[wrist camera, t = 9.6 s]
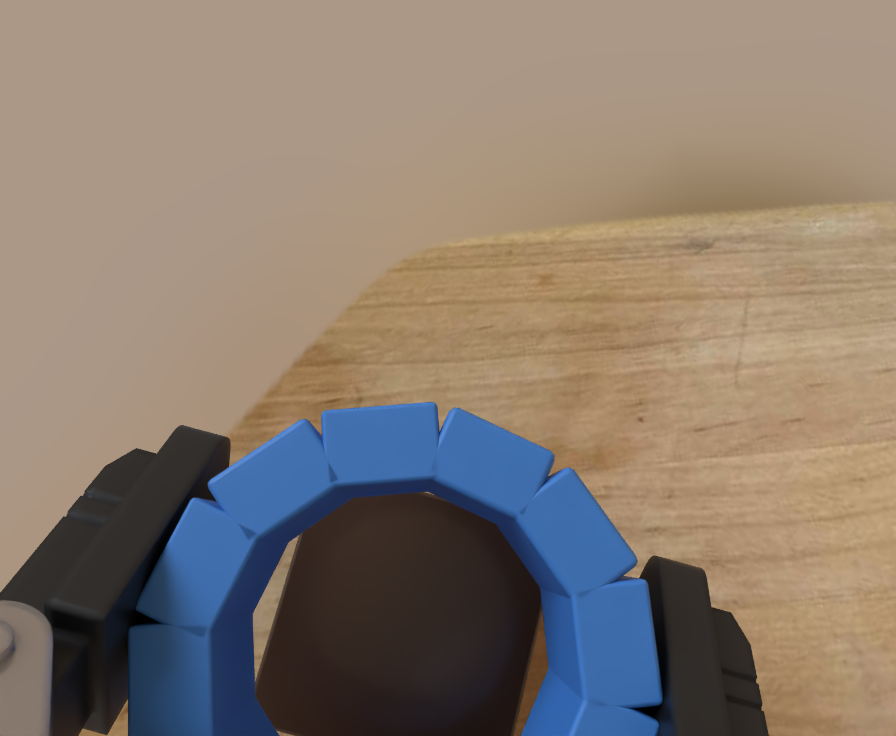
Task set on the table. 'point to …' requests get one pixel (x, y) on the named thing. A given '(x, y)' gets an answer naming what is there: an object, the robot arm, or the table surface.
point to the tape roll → (375, 474)
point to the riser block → (400, 625)
